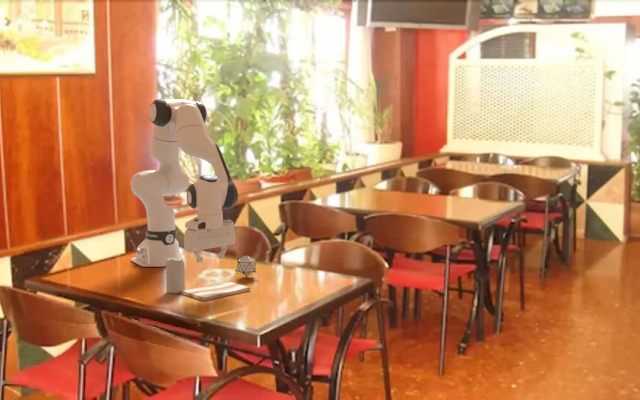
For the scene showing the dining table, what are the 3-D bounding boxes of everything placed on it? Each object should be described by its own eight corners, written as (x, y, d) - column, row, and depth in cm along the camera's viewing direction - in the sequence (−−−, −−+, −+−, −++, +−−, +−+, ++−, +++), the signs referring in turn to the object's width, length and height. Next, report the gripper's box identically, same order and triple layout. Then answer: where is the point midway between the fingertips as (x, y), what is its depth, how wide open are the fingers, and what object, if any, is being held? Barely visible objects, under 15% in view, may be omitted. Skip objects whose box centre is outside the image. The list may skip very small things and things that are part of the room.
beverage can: (162, 292, 270) (162, 259, 269) (177, 289, 275) (176, 256, 273) (173, 295, 266) (172, 261, 264) (188, 292, 271) (187, 258, 269)
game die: (254, 281, 286) (253, 255, 285) (232, 280, 288) (231, 254, 286) (260, 276, 295) (260, 250, 293) (239, 275, 296) (239, 249, 295)
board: (182, 293, 268) (182, 290, 268) (227, 284, 282) (227, 281, 282) (204, 301, 259) (204, 297, 258) (250, 290, 273) (250, 287, 272)
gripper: (228, 217, 278) (228, 254, 280) (180, 223, 264) (181, 263, 266) (238, 219, 274) (239, 257, 276) (191, 226, 260) (192, 265, 262)
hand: (210, 260), depth 271 cm, fingers open, 8 cm apart
